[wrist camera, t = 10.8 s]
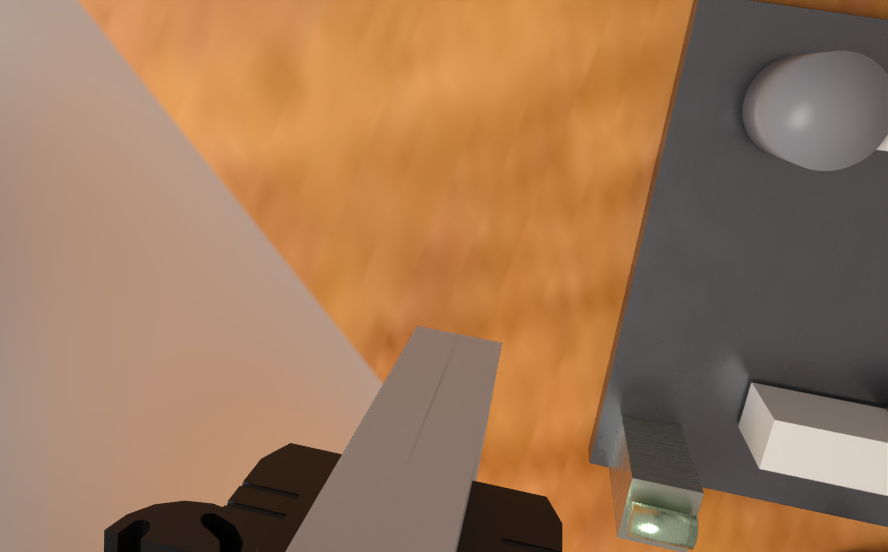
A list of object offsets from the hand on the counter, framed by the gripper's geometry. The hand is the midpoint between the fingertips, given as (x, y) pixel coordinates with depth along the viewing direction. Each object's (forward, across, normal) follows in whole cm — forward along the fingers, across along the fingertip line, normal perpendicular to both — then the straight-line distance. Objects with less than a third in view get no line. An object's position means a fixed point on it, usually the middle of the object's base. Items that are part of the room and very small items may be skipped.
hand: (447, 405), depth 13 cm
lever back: (+23, +18, -8) cm, 30 cm away
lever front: (+23, +15, +6) cm, 28 cm away
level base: (+24, +14, -2) cm, 28 cm away
